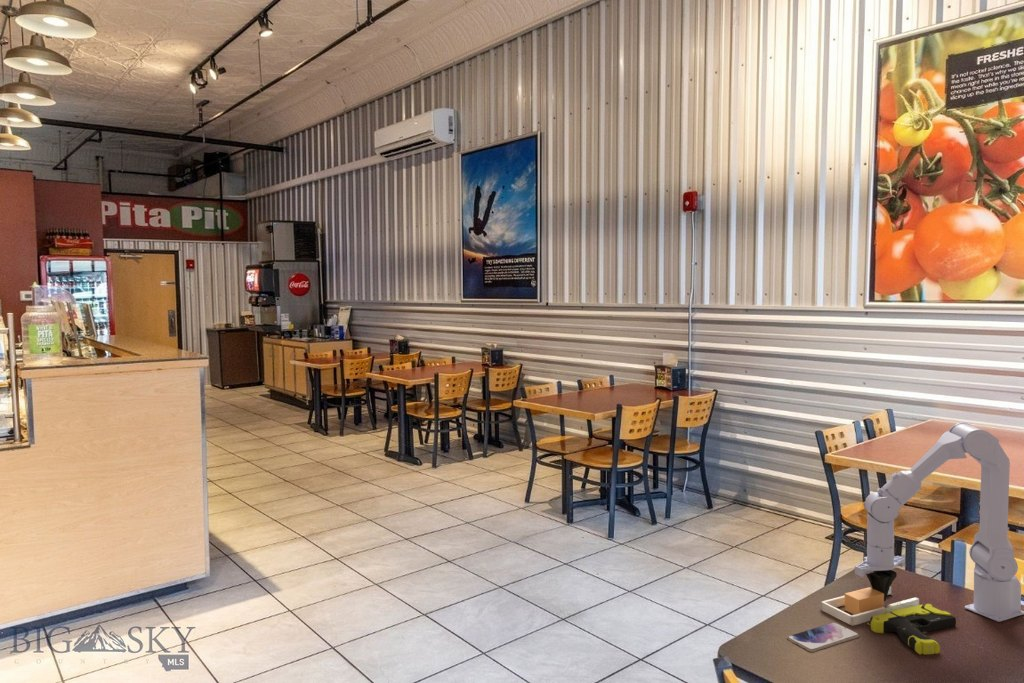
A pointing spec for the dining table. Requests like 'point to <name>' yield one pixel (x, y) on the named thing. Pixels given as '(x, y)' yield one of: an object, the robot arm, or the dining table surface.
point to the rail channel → (901, 604)
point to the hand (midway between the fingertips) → (880, 599)
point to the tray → (831, 609)
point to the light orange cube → (874, 597)
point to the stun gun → (914, 626)
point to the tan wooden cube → (857, 602)
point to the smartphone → (822, 637)
